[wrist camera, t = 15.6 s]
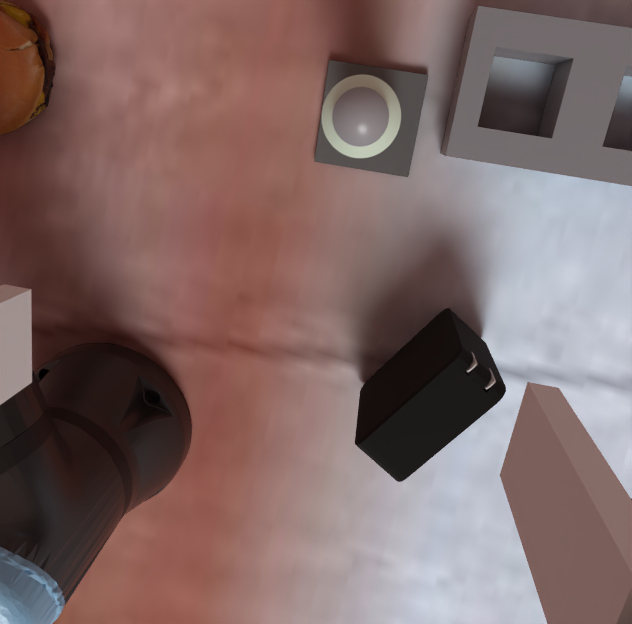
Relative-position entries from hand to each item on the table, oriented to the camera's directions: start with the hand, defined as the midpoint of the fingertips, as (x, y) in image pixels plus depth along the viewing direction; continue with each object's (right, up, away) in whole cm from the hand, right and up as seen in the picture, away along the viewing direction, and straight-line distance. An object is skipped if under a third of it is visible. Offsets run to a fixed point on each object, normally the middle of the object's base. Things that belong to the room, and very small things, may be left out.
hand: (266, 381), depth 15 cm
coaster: (+5, +16, +27) cm, 31 cm away
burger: (-22, +21, +29) cm, 42 cm away
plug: (+5, +16, +26) cm, 31 cm away
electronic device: (+10, -2, +32) cm, 34 cm away
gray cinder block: (+19, +16, +25) cm, 35 cm away
